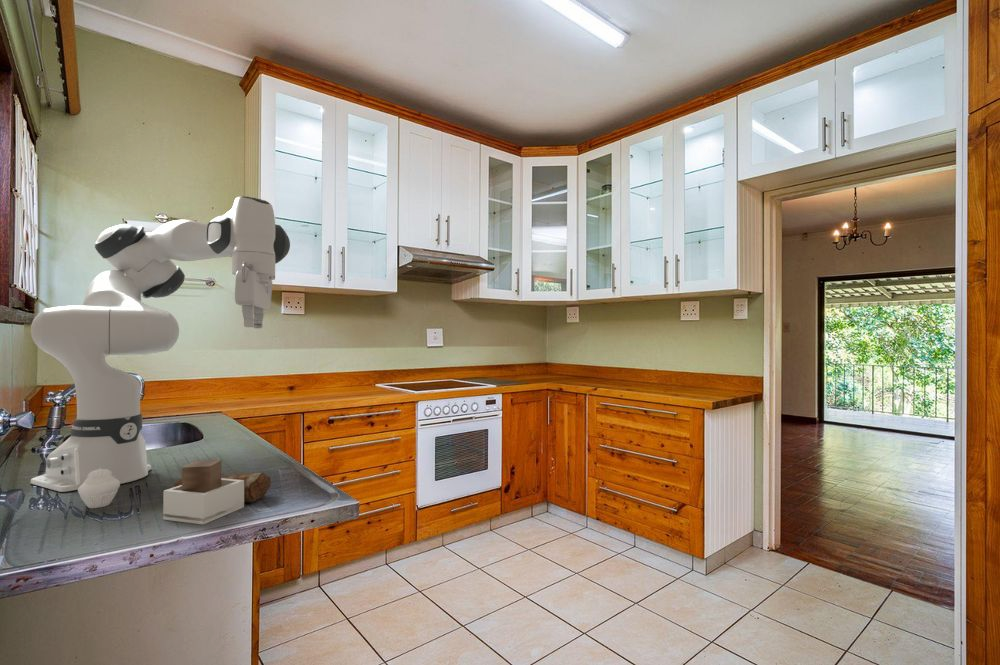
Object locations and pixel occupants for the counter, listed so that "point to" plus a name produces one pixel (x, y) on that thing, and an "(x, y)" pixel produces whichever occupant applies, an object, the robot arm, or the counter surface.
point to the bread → (248, 484)
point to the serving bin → (203, 502)
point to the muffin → (98, 488)
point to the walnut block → (201, 476)
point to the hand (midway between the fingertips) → (253, 327)
